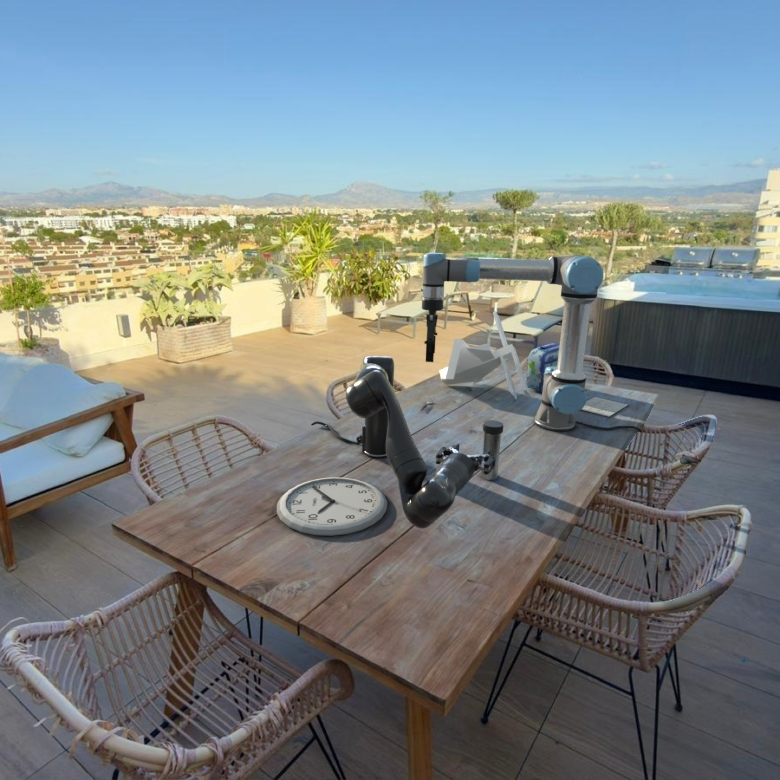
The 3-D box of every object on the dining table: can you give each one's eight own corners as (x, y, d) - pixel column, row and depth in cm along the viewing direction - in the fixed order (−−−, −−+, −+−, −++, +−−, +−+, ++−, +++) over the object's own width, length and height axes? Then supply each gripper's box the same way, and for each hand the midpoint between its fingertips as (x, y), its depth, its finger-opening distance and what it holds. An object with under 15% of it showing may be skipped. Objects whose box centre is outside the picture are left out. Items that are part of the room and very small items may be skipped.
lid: (479, 428, 159) (480, 420, 158) (498, 426, 160) (498, 419, 159) (487, 435, 153) (488, 427, 152) (506, 433, 154) (506, 426, 154)
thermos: (478, 473, 163) (482, 422, 158) (493, 472, 164) (497, 421, 159) (484, 480, 158) (488, 428, 153) (499, 479, 159) (504, 427, 154)
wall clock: (392, 527, 129) (268, 531, 127) (391, 533, 130) (269, 537, 127) (383, 473, 158) (282, 475, 155) (383, 478, 158) (282, 480, 156)
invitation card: (608, 416, 214) (573, 407, 224) (608, 416, 214) (573, 408, 224) (628, 404, 229) (594, 396, 238) (628, 405, 229) (594, 397, 238)
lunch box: (542, 395, 240) (547, 351, 233) (522, 390, 247) (526, 347, 241) (569, 384, 257) (575, 343, 251) (550, 380, 264) (554, 339, 258)
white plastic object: (461, 429, 252) (437, 405, 227) (444, 352, 274) (420, 323, 250) (535, 404, 240) (518, 377, 215) (510, 326, 262) (492, 293, 237)
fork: (417, 411, 216) (418, 406, 216) (428, 400, 231) (428, 395, 230) (423, 412, 215) (424, 407, 215) (434, 400, 230) (434, 396, 229)
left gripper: (483, 465, 120) (501, 441, 134) (426, 453, 126) (448, 431, 140) (481, 494, 122) (499, 468, 136) (424, 481, 128) (447, 457, 142)
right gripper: (424, 293, 195) (422, 349, 202) (419, 302, 172) (417, 365, 178) (444, 294, 195) (441, 350, 201) (442, 303, 171) (439, 366, 177)
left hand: (473, 449), depth 138 cm, fingers open, 8 cm apart
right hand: (430, 357), depth 190 cm, fingers open, 13 cm apart
